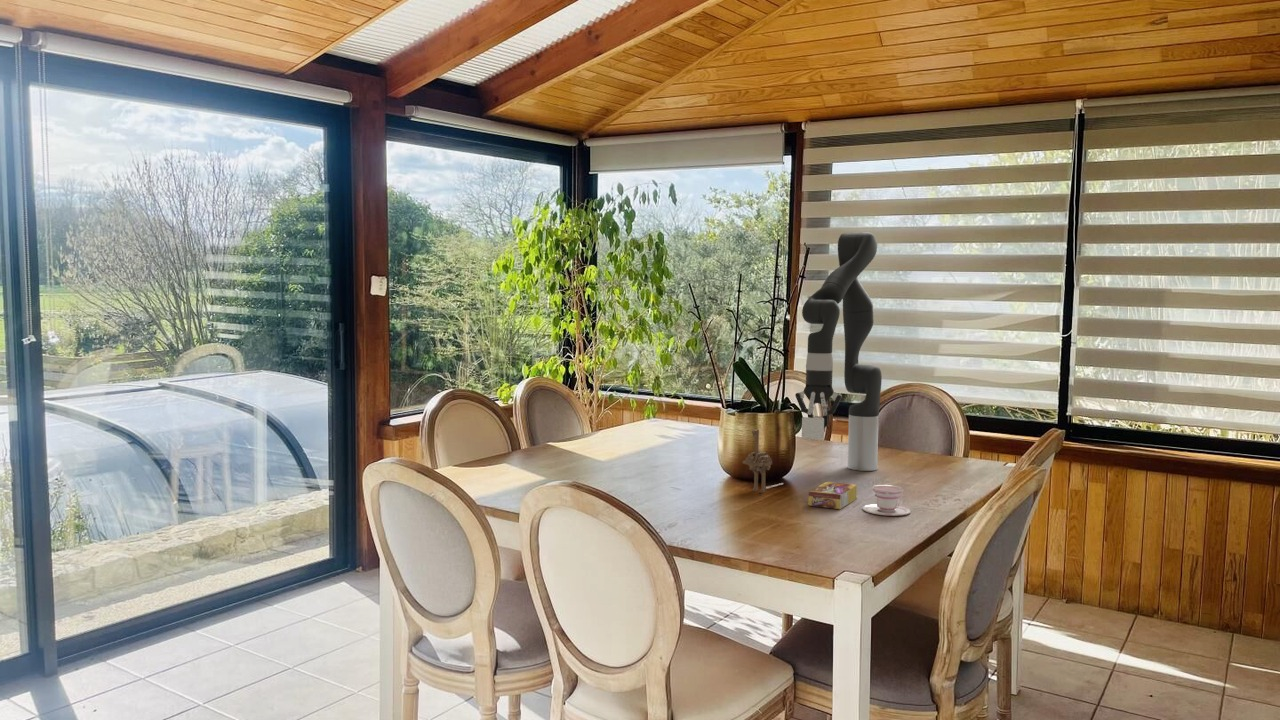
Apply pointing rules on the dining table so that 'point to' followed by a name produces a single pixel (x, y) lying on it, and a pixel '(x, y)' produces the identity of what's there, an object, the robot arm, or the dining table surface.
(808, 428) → the pale square-ended block
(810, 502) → the candy box
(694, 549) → the dining table surface
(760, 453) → the ostrich figurine
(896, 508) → the teacup
